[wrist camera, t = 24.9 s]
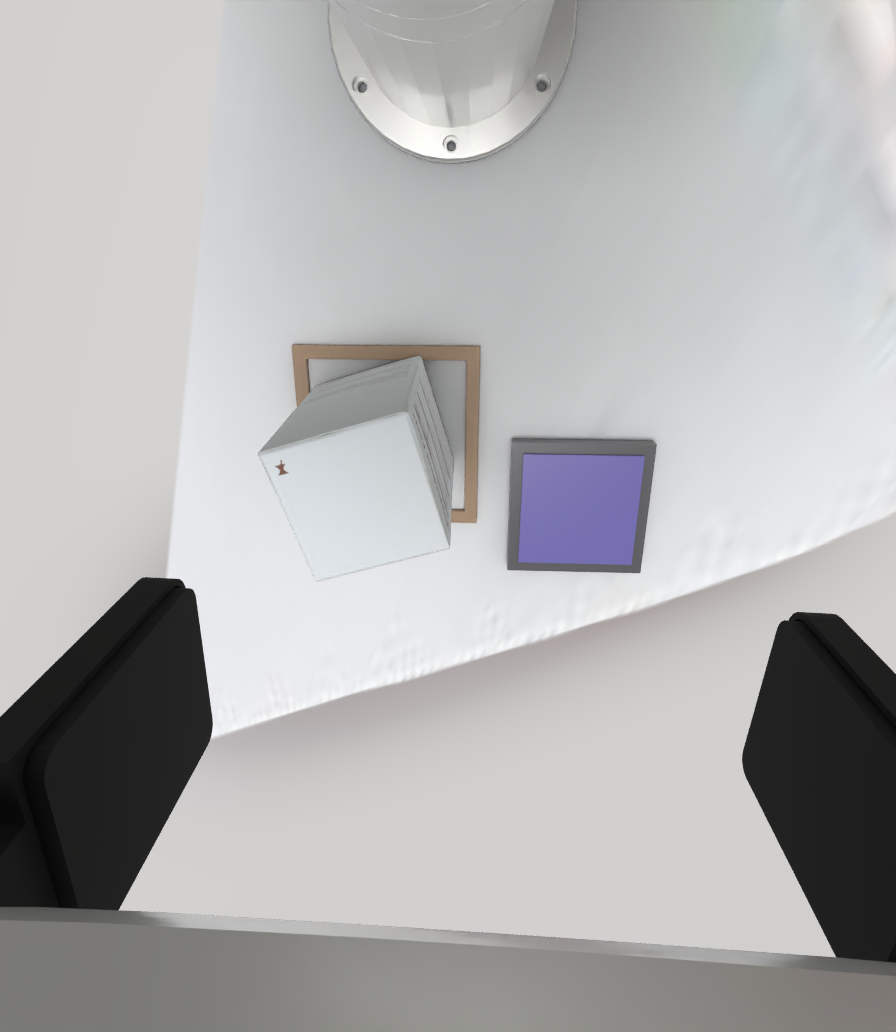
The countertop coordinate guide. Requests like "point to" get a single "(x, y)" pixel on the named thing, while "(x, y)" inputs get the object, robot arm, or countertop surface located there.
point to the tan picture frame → (401, 353)
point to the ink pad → (579, 504)
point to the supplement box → (365, 470)
